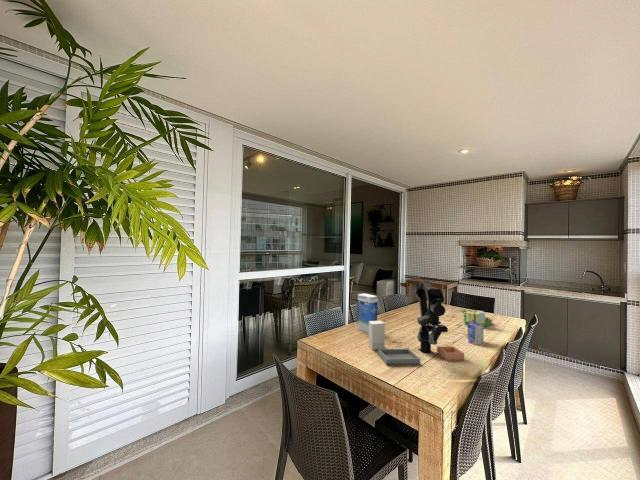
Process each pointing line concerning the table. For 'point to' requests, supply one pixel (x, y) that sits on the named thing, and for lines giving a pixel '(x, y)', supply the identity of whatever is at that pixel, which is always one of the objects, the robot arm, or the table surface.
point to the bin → (450, 353)
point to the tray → (398, 357)
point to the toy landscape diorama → (476, 317)
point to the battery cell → (431, 338)
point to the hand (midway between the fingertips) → (433, 340)
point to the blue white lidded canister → (366, 311)
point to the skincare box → (376, 335)
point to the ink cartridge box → (475, 333)
